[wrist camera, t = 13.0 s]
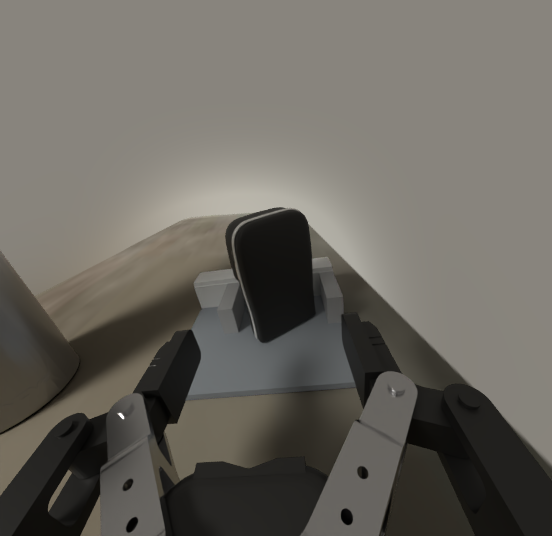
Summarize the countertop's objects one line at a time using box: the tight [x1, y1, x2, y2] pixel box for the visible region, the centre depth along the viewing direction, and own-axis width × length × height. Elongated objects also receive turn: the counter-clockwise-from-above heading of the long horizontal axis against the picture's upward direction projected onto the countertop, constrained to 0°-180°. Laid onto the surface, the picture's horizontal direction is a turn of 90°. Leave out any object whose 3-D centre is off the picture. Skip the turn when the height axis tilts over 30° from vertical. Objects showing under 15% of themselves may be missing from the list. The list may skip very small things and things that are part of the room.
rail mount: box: [186, 257, 356, 400], centre depth 23 cm, size 16×14×4 cm
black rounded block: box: [225, 207, 316, 343], centre depth 22 cm, size 7×4×11 cm, turn 121°
